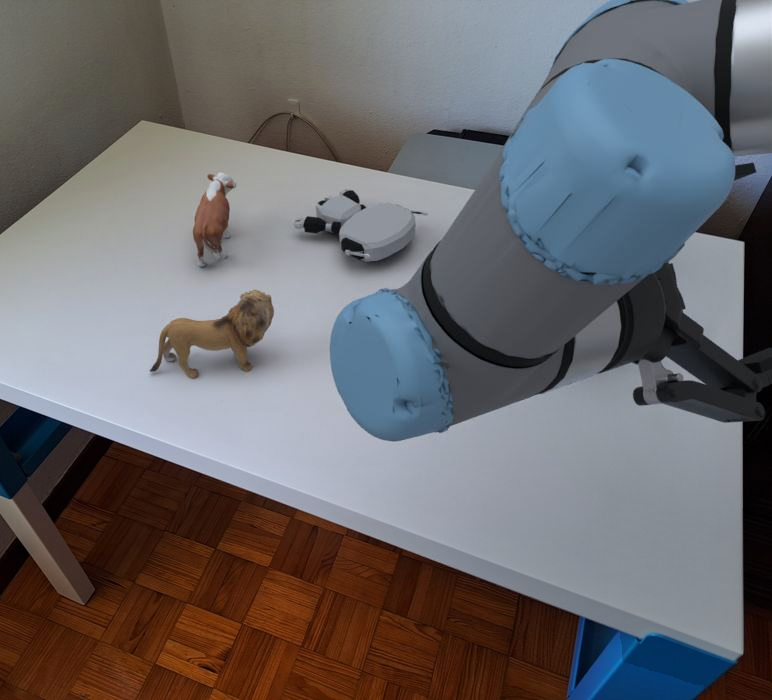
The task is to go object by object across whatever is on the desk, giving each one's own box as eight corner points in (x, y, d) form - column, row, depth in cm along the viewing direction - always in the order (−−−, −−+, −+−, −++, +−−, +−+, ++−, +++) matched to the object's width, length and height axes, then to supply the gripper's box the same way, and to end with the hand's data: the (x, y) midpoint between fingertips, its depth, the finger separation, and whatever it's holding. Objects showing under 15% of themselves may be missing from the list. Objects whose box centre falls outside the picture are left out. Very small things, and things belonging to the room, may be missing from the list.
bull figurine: (245, 216, 98) (239, 165, 92) (221, 276, 89) (213, 224, 83) (215, 214, 99) (207, 163, 93) (189, 273, 89) (179, 221, 84)
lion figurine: (272, 333, 81) (267, 275, 75) (282, 365, 77) (277, 306, 71) (148, 359, 79) (131, 301, 72) (153, 393, 75) (135, 335, 69)
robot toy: (289, 242, 95) (373, 282, 86) (285, 214, 92) (372, 253, 83) (347, 204, 101) (431, 238, 92) (346, 176, 97) (432, 209, 89)
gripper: (472, 143, 45) (669, 124, 55) (578, 516, 44) (759, 427, 54) (561, 86, 38) (766, 76, 48) (689, 524, 37) (871, 421, 47)
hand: (763, 261), depth 51 cm, fingers open, 13 cm apart
